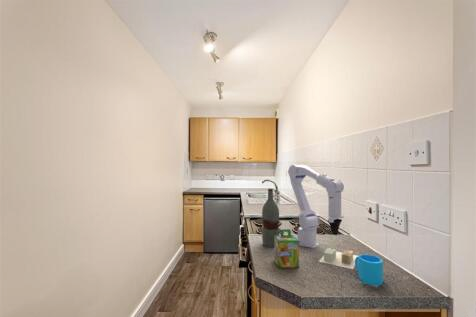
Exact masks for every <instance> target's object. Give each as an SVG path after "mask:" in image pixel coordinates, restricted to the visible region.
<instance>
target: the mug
mask: <svg viewBox="0 0 476 317" xmlns="http://www.w3.org/2000/svg"><path fill="white" fill-rule="evenodd" d="M357 256H358V257H356V259H355V268H356V270H357V271H358V278H359V280H360V281H361V283H364V284H366V285H369V286H376V287H377V286H382V285H383V283H384V261H383V260H384V259H382V258H381V257H380V256H376V255H373V254H359V255H357Z"/></svg>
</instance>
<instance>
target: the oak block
mask: <svg viewBox="0 0 476 317" xmlns="http://www.w3.org/2000/svg"><path fill="white" fill-rule="evenodd" d="M341 253H342V254H341V258H342V263H345V264H350V265H351V263H352V261H353V255H354V251H353V250H348V249H344V250H343V251H342V252H341Z"/></svg>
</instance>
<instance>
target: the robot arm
mask: <svg viewBox="0 0 476 317" xmlns="http://www.w3.org/2000/svg"><path fill="white" fill-rule="evenodd" d="M287 173H288V176H289V178H290V179H289V181H290V184H291V187H292V190H293V193H294V196H295V199H296V202H297V205H298V209H299V211H300V213H299V215H298V216H297V217H298V221H299V222H298V224H299V226H300V227H298V228H297V240H298V241H299V246H300V247H301V246H302V247H306V248H307V247H308V248H312V249H315V248H317V247H318V245H319V243H318V241H317V229H318V227H319V225H320V218H319V216H317V214H316V212H315V211H314V210H312V209H311V206H310V204H309V201H308V199H307V198H308V197H307V196H306V192H305V190H304V187H303V184H302V181H304V179H305V178H306V176H308V177H310V178H311V179H313V180H314V181H315V182H316V184H318V185H320V186H321V187H322V188H324V189H325V191H326V192H327V197H328V198H327V199H328V203H327V204H328V208H327V209H328V210H327V211H328V214H327V218H328V219H327V222H328V224H329V226H330V231H331V234H332V235H333V236H338V234H339V229H340V225H341V223H342V221H343V219H344V218H345V216H344V215H342V192H344V189H345V187H344V184H343V182H342V181H341V180H335V178H333V177H330V176H327V174H326V173H320V174H319V173H318V172H316V171H315V170H313V169H312V168H310V167H309V166H308V165H306V164H291V165H290V166H289V168H288V171H287Z"/></svg>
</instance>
